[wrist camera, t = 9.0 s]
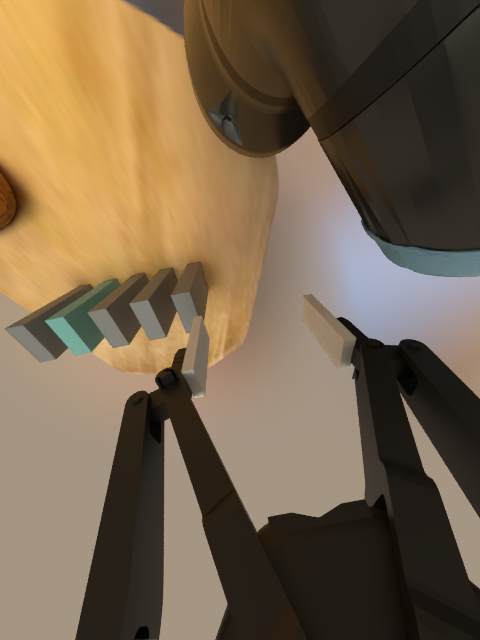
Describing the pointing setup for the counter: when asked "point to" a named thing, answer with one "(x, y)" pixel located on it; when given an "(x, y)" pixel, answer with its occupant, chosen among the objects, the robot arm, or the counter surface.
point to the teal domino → (81, 320)
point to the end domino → (44, 327)
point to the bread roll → (6, 202)
